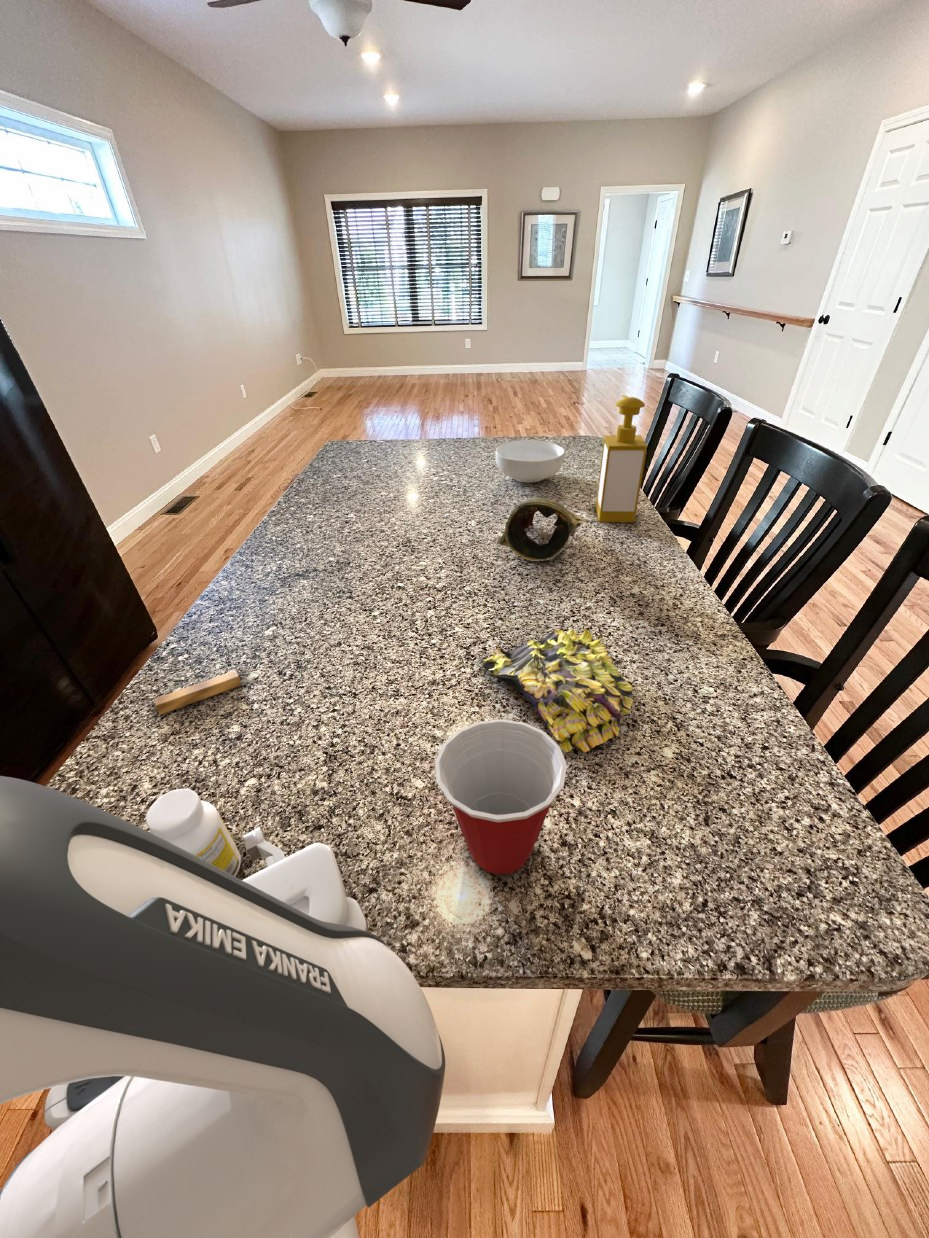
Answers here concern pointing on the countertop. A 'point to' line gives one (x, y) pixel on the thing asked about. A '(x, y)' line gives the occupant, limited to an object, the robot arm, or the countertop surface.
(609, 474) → the soap bottle
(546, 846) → the countertop surface
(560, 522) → the pot
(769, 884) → the countertop surface
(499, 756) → the plastic cup
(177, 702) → the wooden bar
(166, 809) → the supplement bottle
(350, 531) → the countertop surface
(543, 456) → the cereal bowl
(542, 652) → the banana patterned fabric
